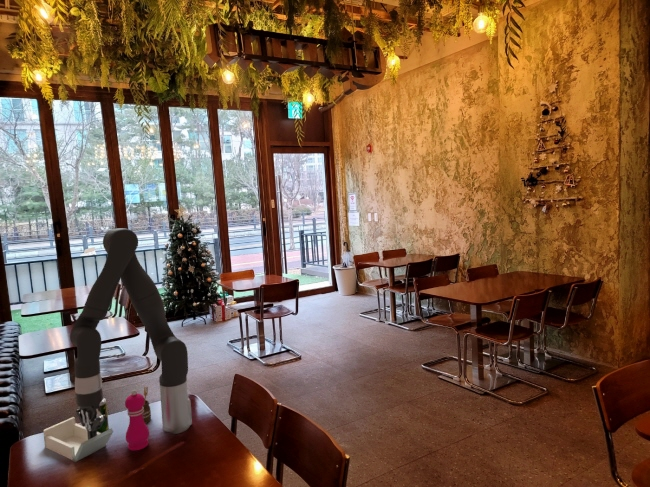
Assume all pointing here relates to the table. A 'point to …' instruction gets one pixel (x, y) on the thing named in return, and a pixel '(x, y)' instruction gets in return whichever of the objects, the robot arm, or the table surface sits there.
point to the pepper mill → (136, 422)
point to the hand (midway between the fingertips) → (92, 440)
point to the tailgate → (93, 445)
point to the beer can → (105, 424)
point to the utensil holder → (146, 408)
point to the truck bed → (65, 437)
